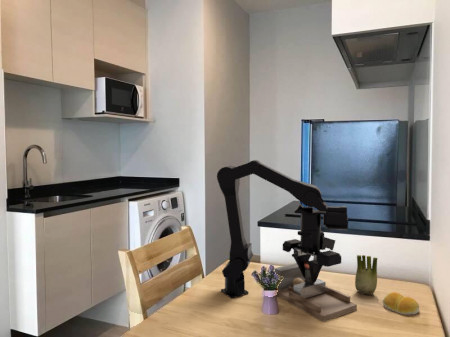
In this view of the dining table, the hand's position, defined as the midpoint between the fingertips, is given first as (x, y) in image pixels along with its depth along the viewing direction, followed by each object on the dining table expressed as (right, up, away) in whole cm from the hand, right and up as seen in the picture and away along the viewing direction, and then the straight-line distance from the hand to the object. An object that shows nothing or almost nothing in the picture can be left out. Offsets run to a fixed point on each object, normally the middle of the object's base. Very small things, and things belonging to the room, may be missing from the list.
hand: (309, 280), depth 109 cm
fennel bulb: (+18, -6, +5) cm, 20 cm away
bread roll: (+24, -7, -5) cm, 26 cm away
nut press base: (+1, -6, -1) cm, 6 cm away
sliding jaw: (0, -4, 0) cm, 4 cm away
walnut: (-3, -2, +4) cm, 6 cm away
